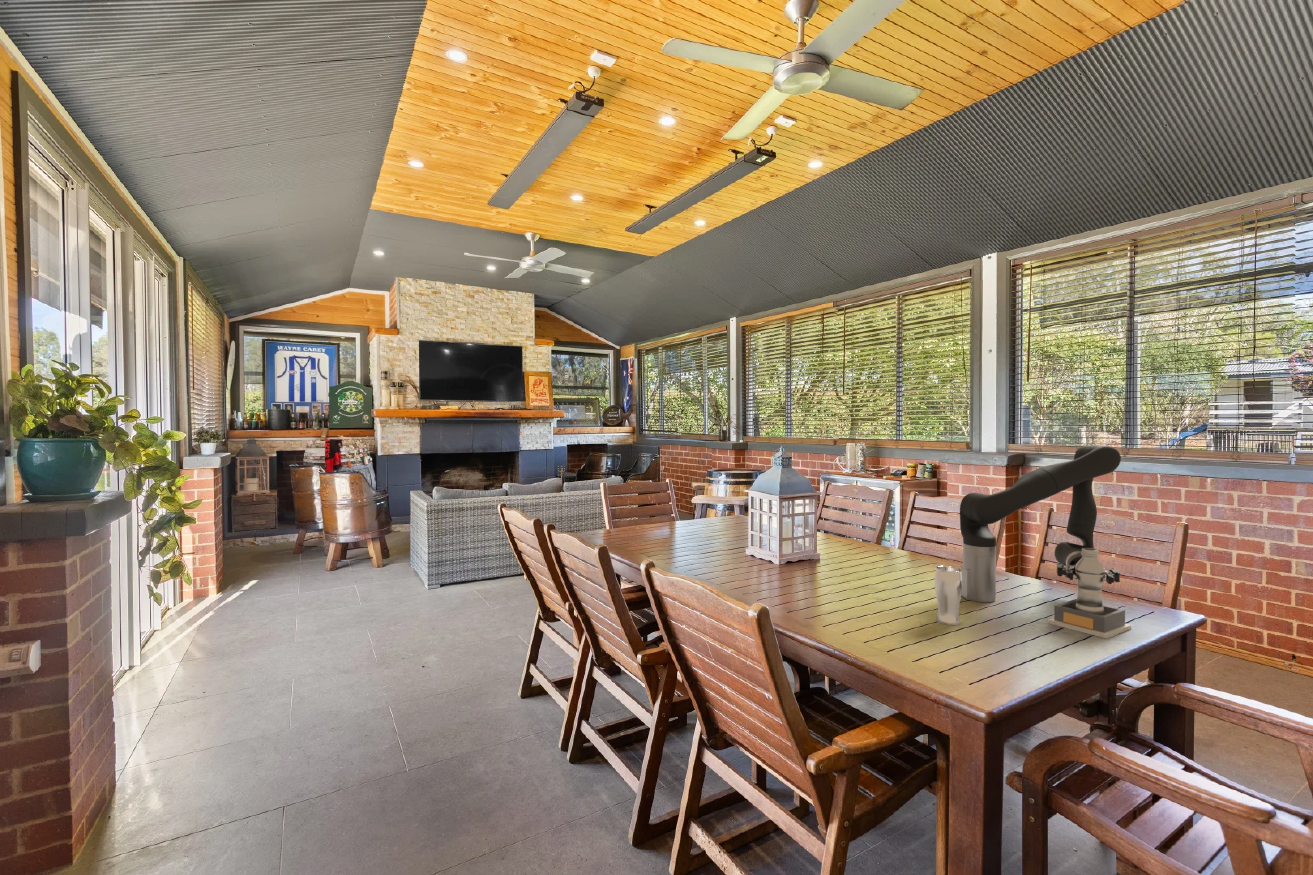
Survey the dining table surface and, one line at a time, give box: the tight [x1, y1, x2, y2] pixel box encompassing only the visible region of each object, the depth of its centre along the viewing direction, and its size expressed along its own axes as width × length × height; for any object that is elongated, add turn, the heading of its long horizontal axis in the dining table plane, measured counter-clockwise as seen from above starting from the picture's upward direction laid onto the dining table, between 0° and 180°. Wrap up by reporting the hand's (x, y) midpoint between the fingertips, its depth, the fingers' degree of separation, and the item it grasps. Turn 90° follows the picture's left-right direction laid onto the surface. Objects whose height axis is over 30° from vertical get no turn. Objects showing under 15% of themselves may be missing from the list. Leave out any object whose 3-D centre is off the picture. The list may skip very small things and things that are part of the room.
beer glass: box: [934, 565, 962, 626], centre depth 167 cm, size 7×7×15 cm
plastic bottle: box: [1075, 548, 1105, 616], centre depth 164 cm, size 6×7×20 cm
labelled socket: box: [1048, 598, 1132, 639], centre depth 164 cm, size 14×14×5 cm
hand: (1090, 578), depth 162 cm, fingers open, 8 cm apart
